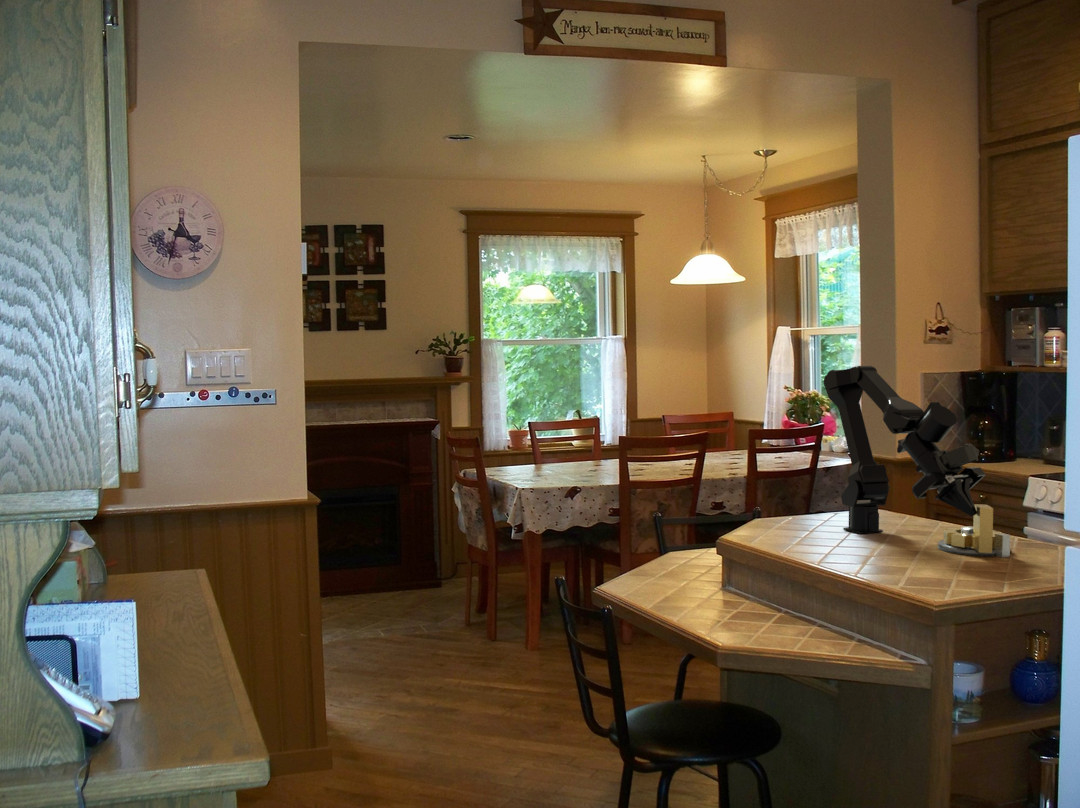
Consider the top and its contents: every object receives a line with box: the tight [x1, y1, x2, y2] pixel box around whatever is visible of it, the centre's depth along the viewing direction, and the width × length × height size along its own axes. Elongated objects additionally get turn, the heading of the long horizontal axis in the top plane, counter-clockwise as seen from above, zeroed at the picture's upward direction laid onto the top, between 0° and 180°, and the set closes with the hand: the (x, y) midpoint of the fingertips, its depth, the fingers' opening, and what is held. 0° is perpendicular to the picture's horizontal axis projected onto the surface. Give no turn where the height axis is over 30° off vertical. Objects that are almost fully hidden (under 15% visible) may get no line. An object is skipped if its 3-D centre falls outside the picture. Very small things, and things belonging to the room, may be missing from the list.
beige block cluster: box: [943, 503, 1003, 553], centre depth 214 cm, size 11×16×9 cm
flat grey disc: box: [937, 525, 1011, 559], centre depth 216 cm, size 16×14×4 cm
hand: (974, 515), depth 209 cm, fingers closed
